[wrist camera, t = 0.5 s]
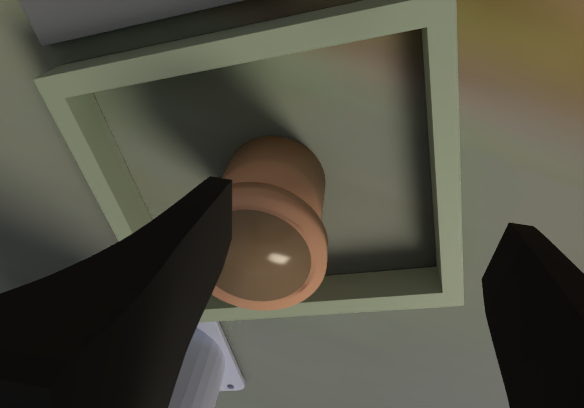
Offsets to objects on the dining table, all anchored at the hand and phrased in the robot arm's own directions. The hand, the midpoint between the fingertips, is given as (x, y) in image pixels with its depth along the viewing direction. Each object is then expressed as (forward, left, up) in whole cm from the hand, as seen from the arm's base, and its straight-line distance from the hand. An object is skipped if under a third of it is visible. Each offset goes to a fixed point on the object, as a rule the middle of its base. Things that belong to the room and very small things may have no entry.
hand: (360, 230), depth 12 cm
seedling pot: (-5, -3, -10) cm, 11 cm away
